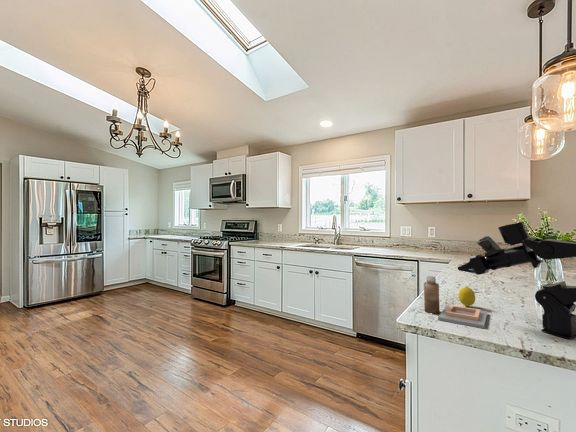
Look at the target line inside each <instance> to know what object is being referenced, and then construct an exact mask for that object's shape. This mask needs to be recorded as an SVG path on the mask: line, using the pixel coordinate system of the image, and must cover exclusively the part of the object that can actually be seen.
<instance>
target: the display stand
mask: <svg viewBox="0 0 576 432" xmlns="http://www.w3.org/2000/svg"><path fill="white" fill-rule="evenodd" d="M487 319H488V311H487V310H483V309H479V308H472V307H466V306H459V305H454V304H449V305H448V304H446V305H445V306H444V308H443V310H441V311H440V313H439V315H438V317H437V321H440V320H441V321H440V322H446V323H452V324H457V325H462V326H463V325H464V326H467V327H474V328H479V329H485V328H486V324H487V323H486V322H487Z"/></svg>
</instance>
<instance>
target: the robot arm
mask: <svg viewBox="0 0 576 432" xmlns="http://www.w3.org/2000/svg"><path fill="white" fill-rule="evenodd" d="M497 229H498V231H499V233H500V235H501V238H502V240H503V242H504V244H507V245H509V246H512V247H509V248H501V247H500V246H499V244H497V243H496V241H494V239H493V238H491V236H484V237H482V238H480V239H479V240H478V241H477V242H476V243H477V244H476V245H478V246H480V247H481V249H483V250H484V252H485V253H483V254H484V255H483V254H478V255H473V256H470V257H469V261H468V262H467V263H464V264H461V265H460V266H457V270H458V271H460V272H465V273H471V274H475V275H478V276H479V275H483V274H484V275H485V274H487V273H489V271H490V270H492V271H496V270H499V269H505V268H506V269H508V268H510V267H514V266H520V265H526V264H531V265H532V268H533V269H537V268H539V267H541V266H540V265H541V264H542V263H543V262H544V260H559V259H569V258H576V242H573V241H567V240H561V239H553V238H548V239H543V238H542V239H541V238H538V237H534V236H530V235H529V232H528V231H527V229H526V225H525V222H523V221H519V222H516V223H511V224H505V225H502V226H499V227H497ZM519 244H521V245H519ZM516 245H517V246H516ZM534 299H535V300H536V302H537V304H539V305H540V306H541V307H542V309H543V313H542V316H541V317H542V328H541V332H544V333H546V334H550V335H554V336H557V337H560V338H563V339H566V340H571V339H573V338H576V314H574V313H573V312H575V311H576V285H567V284H566V281H565V280H561V281H560V282H556V283H554V282H553V283H551V282H548V283H547V284H545V285H543V286H542V287H541V288H540V289H538V290H537V291H536V292H535V294H534Z"/></svg>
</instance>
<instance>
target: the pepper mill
mask: <svg viewBox="0 0 576 432" xmlns="http://www.w3.org/2000/svg"><path fill="white" fill-rule="evenodd" d="M436 280H437V279H436V276H432V275H428V276H426V282H423V301H424V303H423V304H424V306H423V307H424V313H426V314H430V313H432V315H438V313H439V314H441V310H440V285H439V283H438V282H436Z"/></svg>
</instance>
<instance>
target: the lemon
mask: <svg viewBox="0 0 576 432" xmlns="http://www.w3.org/2000/svg"><path fill="white" fill-rule="evenodd" d="M458 301H459V302H460V303H461V305H463V306H464V307H467V308H470V306H472V305H474V304H475V302H476V295H475V291H474V290H473V289H472V288H471V287H469V286H464V287H461V288H460V289H459V291H458Z"/></svg>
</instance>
